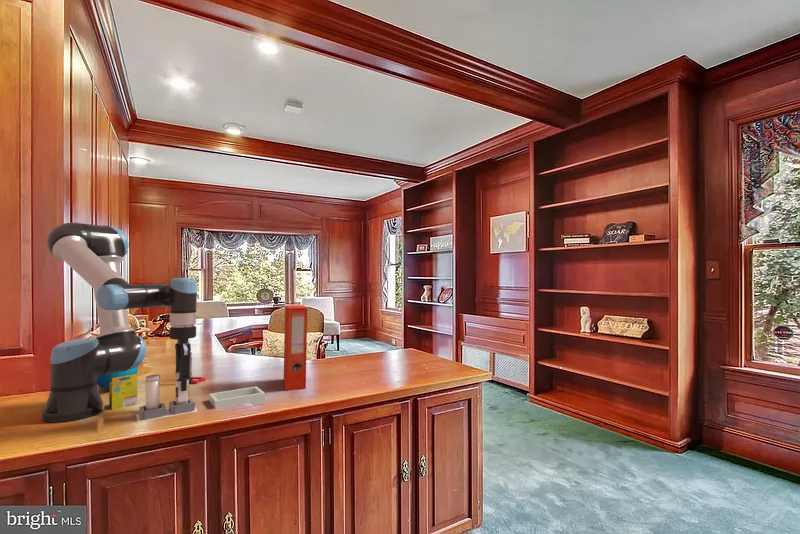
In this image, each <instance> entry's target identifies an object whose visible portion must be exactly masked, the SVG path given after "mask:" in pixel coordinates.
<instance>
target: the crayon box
mask: <svg viewBox="0 0 800 534" xmlns="http://www.w3.org/2000/svg"><path fill="white" fill-rule="evenodd" d="M124 377H126V378H127V377H130V379H126V380H121V381H120V380H119V379H122V378H124ZM108 391H109V393H108V394H109V396H108V397H109V399H108V401H109V403H108V404H109V405H108V407H109V408H108V409H110V410H111V411H112V410H117V409H123V408H126V407H130V406H136V405H138V373H137V374H133V375H127V376H121V377H116V378H112V382H111V383H109V390H108Z"/></svg>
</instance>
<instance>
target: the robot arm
mask: <svg viewBox="0 0 800 534" xmlns="http://www.w3.org/2000/svg"><path fill="white" fill-rule="evenodd" d="M46 246H47V249H48V251H49V253H50V254H51V255H52V256H53V257H54V258H55V259H56V260H58V261H61V262H65V263H66V264H67V265H68V266H69V267H70V268H72V270H73V271H74V272H75V273H77V274H78V275H79V276H80V277H81V278H82V279H83V280H84V281H85V282H86V283H87V284H88V285H89V286H91V287H92V288H93V293H94V299H95V308H96V314H97V320H98V327H99V333H98V334H97V336H96V337H87V338H86V337H85V338H84V337H83V338H80V339H79V338H78V339H71V340H68V341H64V342H61V343H59V344H56V345H55V346H54V347H53V348H52V350H51V352H50V353H51V354H50V359H49V362H50V374H49V375H50V376H49V378H50V382H49V383H50V386H49V394H48V397H47V399H46V402H45V404H44V407H43V409H42V412H41V420H42V421H43V420H44V421H43V422H45V421H48V422H47V423H61V421H64V422H70V421H71V420H72V421H75V420H81V419H85V418H88V417H92V416H95V415H97V414H99V413H101V412H102V411H103V410H104V402H103V399H102V396H101V394H100V391H99V389H98V385H97V377H98V376H102V375H107V374H112V373H117V372H121V371H127V370H130V369H134V368H136V367H138V368H139V366H141V364H143V362H144V360H145V357H146V354H147V344H146V340H145V339H144V338H143V337H142V336H140V335H137V331H136V330H135V328H132V327H131V326H130V321H129V315H128V310H129V309H131V310H132V309H145V308H158V307H159V308H160V307H162V308H164V307H166V308H169V325H170V327H169V339H170V340H177V342H176V343H175V345H174V348H175V374H176V373H177V372H179V379H177V381H178V402H180V401H187V400H188V399H189V395H188V379H189V378H190V376H189V375H190V352H191V351H192V347H191V343H190V342H189V339H194V338H196V337H197V326H196V324H197V319H198V317H199V315H198V314H197V307H198V306H197V300H198V297H197V296H198V287H197V286H198V284H197V279H195V278H194V277H192V278H191V277H187V278H186V277H180V278H179V277H173V278H171V279H170V283H161V282H159V283H139V284H138V283H137V284H136V283H134V284H133V283H132V284H131V283H129V282H128V281H126V280H125V279H124V278H123V277H122V272H121V268H120V264H121V263H122V261H124V257H125V256H126V255H127V253H128V252H129V251H128V250H129V240H128V237H127V235H126V233H125V232H124V231H123V230H121V229H120V228H118V227H114V226H111V225H98V224H90V223H81V222H64V223H61V224H59V225H57V226H56V227H54V228H53V229H52V230H51V231H50V232H49V233H48V234H47V237H46Z"/></svg>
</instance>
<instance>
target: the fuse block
mask: <svg viewBox="0 0 800 534" xmlns="http://www.w3.org/2000/svg"><path fill="white" fill-rule="evenodd" d="M175 404H176V400H172V401H169V402H168V408H167V407H166V404H165V402H161V403H159V408H158V409H152V410H146V404H145V405H142V406H139V407H138V408H139V410H138V413H136V414H135V415H136V420H137V421H136V422H137V423H140V422H145V421H151V420H158V419H163V418H164V419H165V418H168V417H174V416H175V417H176V416H180V415H185V414H190V413H191V414H192V413H197V412H198V409H197V408H196V402H195V401H194V399H193V398H191V397H190V398H188V403H187V404H181V405H176V406H175Z"/></svg>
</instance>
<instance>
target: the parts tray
mask: <svg viewBox="0 0 800 534" xmlns="http://www.w3.org/2000/svg"><path fill="white" fill-rule="evenodd" d="M208 401H209V403H210V404H211V405H212V407H213V408H214V409H220V408H225V407H231V406H232V407H233V406H238V405H245V404H249V403H250V404H251V405H253V407H255V406H256V407H257V406H260V405H261V404H262V405H265V404H266V393H265V392H264V391H263V390H262V389H260V388H259V387H258V386H257V385H256V386H251V387H244V388H238V389H232V390H225V391H220V392H213V393H209V394H208ZM262 405H261V406H262Z"/></svg>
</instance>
